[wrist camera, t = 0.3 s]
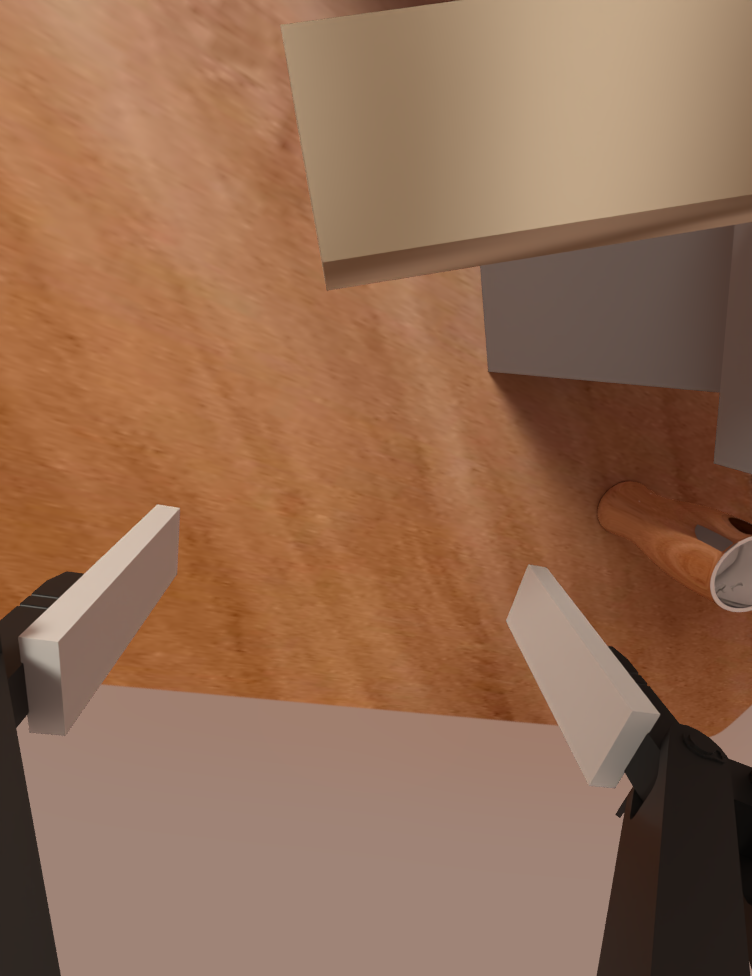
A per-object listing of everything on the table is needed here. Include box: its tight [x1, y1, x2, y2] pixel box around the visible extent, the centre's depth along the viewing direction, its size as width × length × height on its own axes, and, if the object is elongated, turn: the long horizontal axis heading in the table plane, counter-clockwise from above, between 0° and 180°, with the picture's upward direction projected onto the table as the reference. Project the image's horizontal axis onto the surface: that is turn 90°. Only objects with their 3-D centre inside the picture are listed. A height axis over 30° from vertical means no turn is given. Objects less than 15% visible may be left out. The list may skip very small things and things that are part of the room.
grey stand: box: [480, 222, 752, 474], centre depth 24 cm, size 16×14×32 cm
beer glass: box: [597, 481, 752, 612], centre depth 39 cm, size 7×7×15 cm
